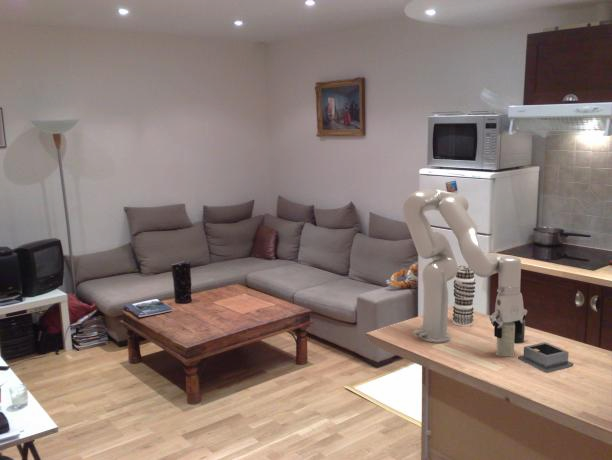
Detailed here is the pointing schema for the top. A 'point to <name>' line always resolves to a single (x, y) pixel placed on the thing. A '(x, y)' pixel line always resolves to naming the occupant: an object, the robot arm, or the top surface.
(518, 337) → the supplement bottle
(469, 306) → the decorative candle
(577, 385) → the top surface
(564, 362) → the socket
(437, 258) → the robot arm
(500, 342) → the skincare box
